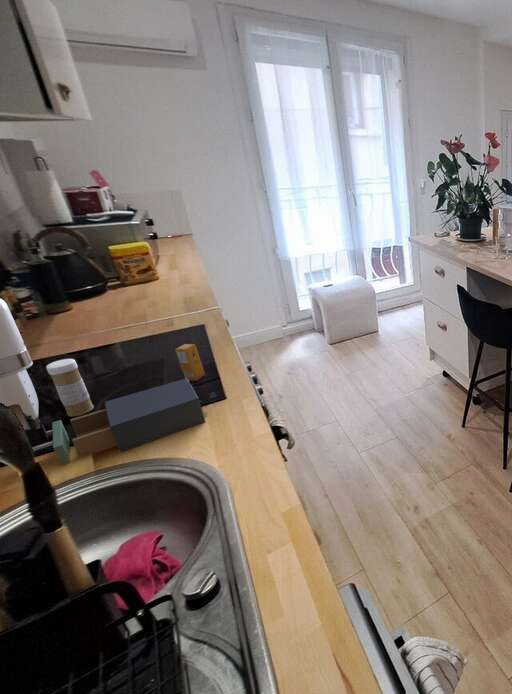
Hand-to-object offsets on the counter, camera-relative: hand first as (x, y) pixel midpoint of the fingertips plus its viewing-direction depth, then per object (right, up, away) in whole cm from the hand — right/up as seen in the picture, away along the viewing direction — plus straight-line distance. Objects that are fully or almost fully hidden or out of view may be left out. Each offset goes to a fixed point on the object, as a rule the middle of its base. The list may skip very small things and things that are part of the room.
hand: (37, 444), depth 81 cm
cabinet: (+12, 0, +14) cm, 18 cm away
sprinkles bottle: (-11, +2, +17) cm, 20 cm away
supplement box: (+4, +7, +33) cm, 34 cm away
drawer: (+4, -2, +6) cm, 7 cm away
